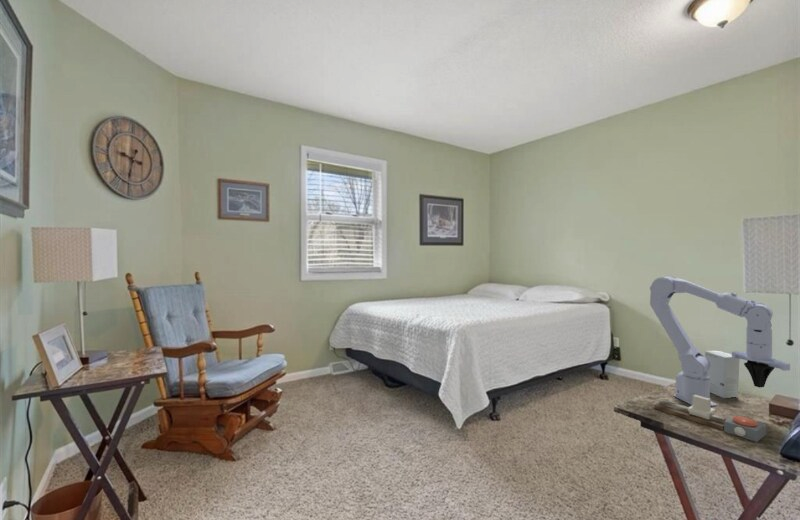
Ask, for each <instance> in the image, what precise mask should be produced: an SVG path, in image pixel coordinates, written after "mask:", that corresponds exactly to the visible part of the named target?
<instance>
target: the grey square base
mask: <svg viewBox="0 0 800 520" xmlns="http://www.w3.org/2000/svg"><path fill="white" fill-rule="evenodd" d="M734 416H736V415H735V414H734V415H732V416H730V417H728V418H726V420H725V421H724V430H723V432H724V433H728V434H731V435H733V436H737V437H741V438H744V439H747V440H749V441H752V442H756V443H758V442H759V441H761V439H763V438H764V437H765V436H766V435H767V428H766V427H767V424H765V423H763V422H759V421H756V422H757V427H747V426H743V425H739V424H737V423H735V422H733V420H732V417H734Z"/></svg>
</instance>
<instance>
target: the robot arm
mask: <svg viewBox="0 0 800 520" xmlns="http://www.w3.org/2000/svg"><path fill="white" fill-rule="evenodd" d="M649 290H650V296H649V297H650V298H649V305H650V308H651V309H652V311H653V312H654V314H655V315H656V317H657V319H658V320H659V322H660V324H661V326H662V327H663V329H664V332H666V334H667V335H668V338H669V339H670V341H671V343H672V344H673V346H674V347H675V349H676V350H677V353H678V354H677V356H678V360H679V361H680V364H681V371H680V372H678V373H677V375H676V377H675V393H674V394H673V397H674V398H677V399H680V400H681V401H683V402H685V403H686V404H689V405H690V406H692V405H693V403H692V396H693V395H698V396H702V397H706V398H710V399H711V394H710V376H709V375H708V373H707V371H708V370H709V368H710V361H709V360H708V359H707V358H706V357H705V355H703V353H701V351H700V350H699V349H698V348H697V347H696V346H695V345H694V344H693V342H692V341H691V339H690V337H689V336H688V334H687V332H686V331H685V329H684V326H682V324H681V322H680V321H679V319H678V318H677V316H676V314H675V313H674V311H673V310H672V307H671V306H670V305H669V303H670V301H671V300H672V297H673V296H674V295H675V294H682V293H685V294H686V293H687V294H690V295H693V296H696V297H698V298H701V299H704V300H707V301H710V302H712V303H714V304H715V305H716V307H717V308H718V309H720V310H723V311H725V312H728V313H730V314H733V315H735V316H738V317H740V318H745V319H746V322H747V325H746V329H745V331H746V335H745V336H746V341H745V342H746V345H745V346H746V352H744V351H739V350H733V351H731V355H732V357H733V358H740V359H741V360H744V361H746V362H744V363H743V365H744V367H745V368H746V370H747V371H748V373H749V375H750V377H751V379H752V382H753V386H754V387H757V388H759V389H761V388H764V387H765V385H766V382H767V380H768V378H769V376H770V375H771V374H772V372H773V371H774V369H780V370H781V371H785V372H786V371H790V370H791V363H788V362H785V361H782V360H778V359H776V358H773V329H772V327H773V326H772V321H771V320H772V318H773V316H774V315H773V314H774V313H773V310H772V308H770V307H769V306H768V305H766V304H765V303H762V302H756V300H754V299H751V300H750V299H748V298H744V297H741V296H738V293H735V292H731V293H730V292H727V291H726V292H722V293H719V292H716V291H714V290H711V289H709V288H706V287H704V286H702V285H699V284H697V283H694V282H691V281H689V280H686V279H683V278H679V277H675V276H673V275H666V276H660V277H657V278H656V279H654V280H653V281H652V283H651V285H650V287H649ZM712 406H713V407H715V406H718V403H715V402H714V401H711V407H712Z"/></svg>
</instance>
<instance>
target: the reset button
mask: <svg viewBox="0 0 800 520" xmlns="http://www.w3.org/2000/svg"><path fill="white" fill-rule="evenodd" d="M731 417H732V416H731ZM732 420H733V422H735V423H737V424H739V425H743V426H747V427H757V422H758V421H756V420H755V419H752V418H750V417H745V416H740V415H735V416H734V417H732Z"/></svg>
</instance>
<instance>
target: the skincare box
mask: <svg viewBox="0 0 800 520" xmlns="http://www.w3.org/2000/svg"><path fill="white" fill-rule="evenodd" d="M704 356H705V357H706V358H707V359H708V360H709V361H710V368H709V370H708V371H707V373H708V375H709V376H710V393H711V394H713V395H715V396H718V397H720V398H723V399H730V398H731V397H736V398H739V397H738V396H739V378H740V375H739V374H740V358H733V357H732V353H729V352H725V351H720V350H705V352H704ZM731 399H732V398H731Z"/></svg>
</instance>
